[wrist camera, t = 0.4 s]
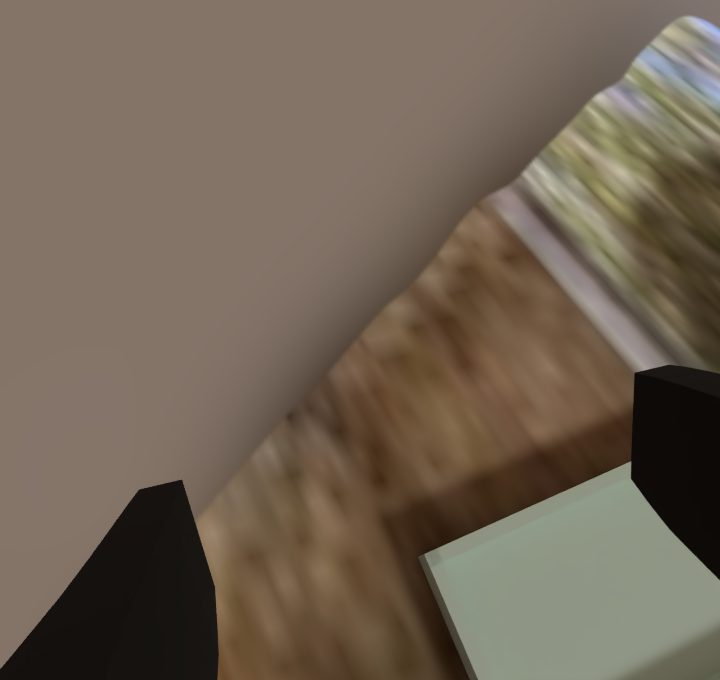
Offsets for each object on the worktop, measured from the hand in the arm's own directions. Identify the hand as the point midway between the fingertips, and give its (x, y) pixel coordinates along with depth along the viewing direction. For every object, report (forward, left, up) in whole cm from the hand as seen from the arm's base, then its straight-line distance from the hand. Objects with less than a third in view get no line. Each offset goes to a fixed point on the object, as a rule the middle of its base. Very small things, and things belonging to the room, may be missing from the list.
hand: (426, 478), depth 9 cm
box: (-8, -15, -29) cm, 34 cm away
